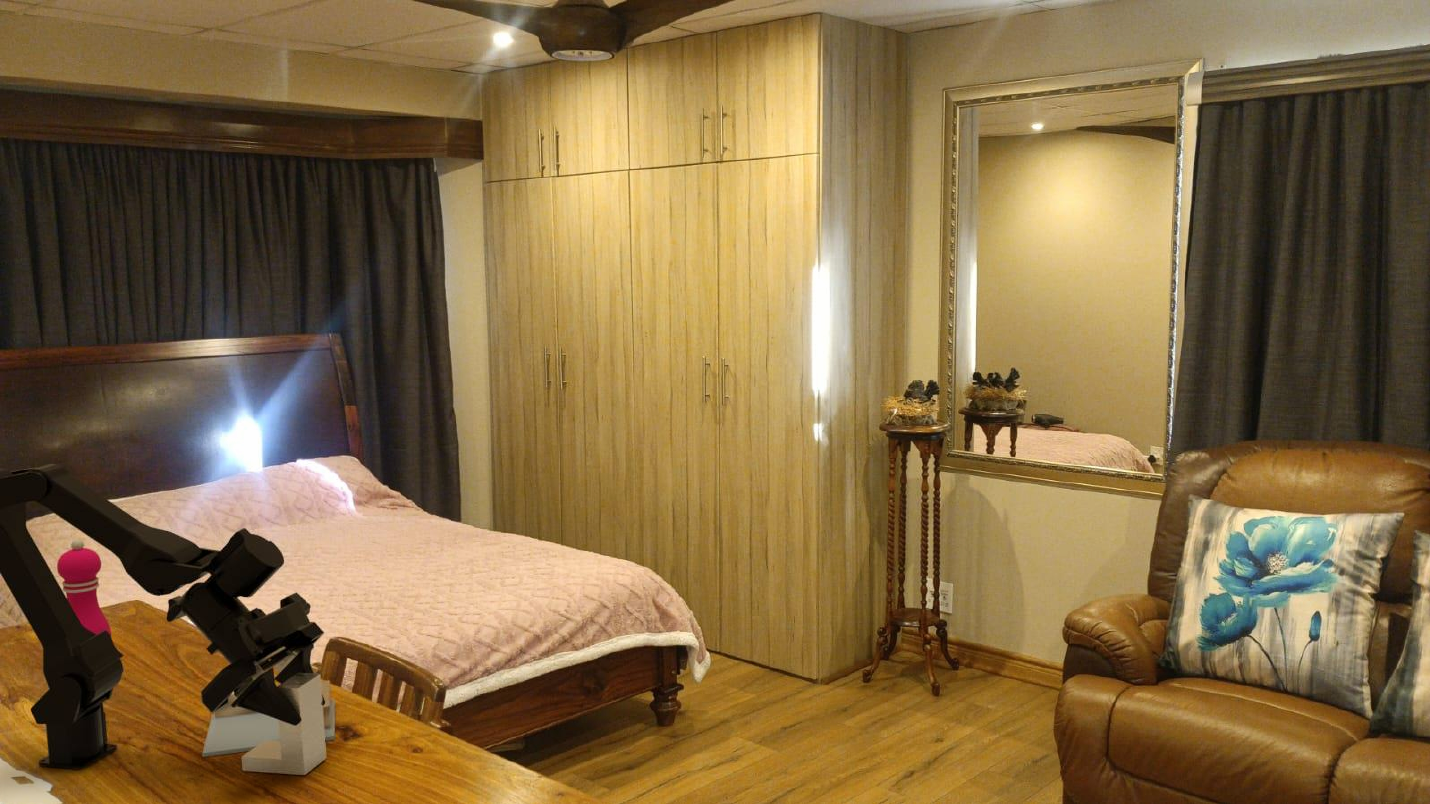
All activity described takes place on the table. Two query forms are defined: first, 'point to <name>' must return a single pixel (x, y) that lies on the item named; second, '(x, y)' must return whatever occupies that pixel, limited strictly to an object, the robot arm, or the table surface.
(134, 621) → the table surface
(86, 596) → the pepper mill
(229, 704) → the board walls
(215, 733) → the slate board
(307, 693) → the bracket
